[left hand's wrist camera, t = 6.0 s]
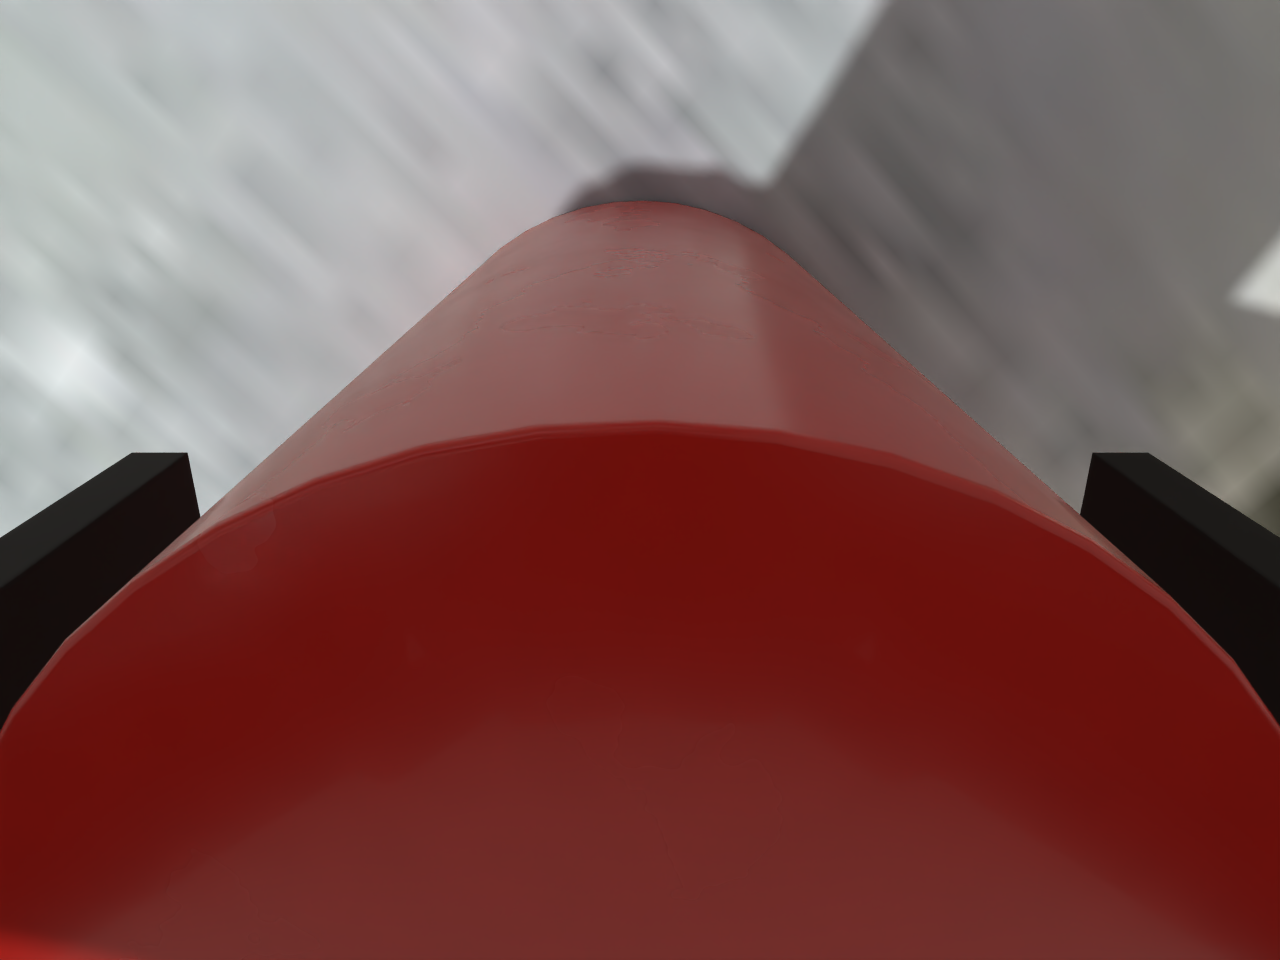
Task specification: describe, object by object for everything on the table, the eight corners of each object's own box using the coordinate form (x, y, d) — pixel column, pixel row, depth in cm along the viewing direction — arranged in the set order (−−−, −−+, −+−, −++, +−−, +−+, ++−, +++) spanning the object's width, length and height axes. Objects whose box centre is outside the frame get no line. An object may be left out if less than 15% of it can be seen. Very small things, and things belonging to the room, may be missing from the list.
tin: (349, 497, 18) (-201, 1204, 6) (555, 103, 15) (269, 34, 3) (705, 681, 19) (804, 1518, 8) (950, 355, 17) (1660, 889, 5)
